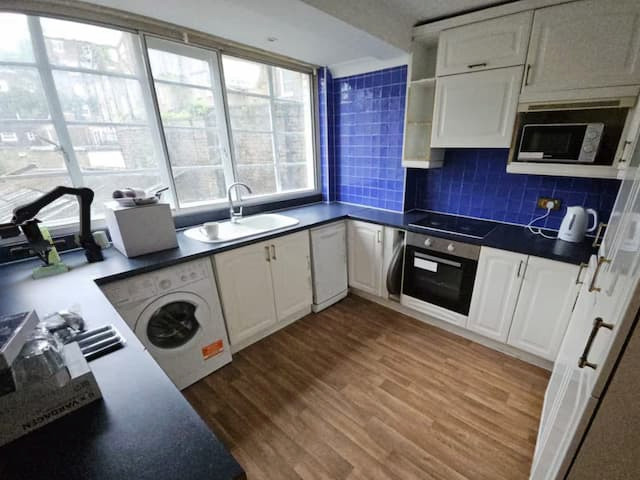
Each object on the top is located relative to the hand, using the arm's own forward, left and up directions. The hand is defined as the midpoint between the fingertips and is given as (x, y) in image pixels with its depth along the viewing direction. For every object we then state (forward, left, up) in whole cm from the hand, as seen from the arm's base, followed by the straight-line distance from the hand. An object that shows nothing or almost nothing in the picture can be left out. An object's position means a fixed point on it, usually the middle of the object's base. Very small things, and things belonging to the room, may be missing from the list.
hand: (47, 264), depth 146 cm
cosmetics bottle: (-17, -34, -5) cm, 38 cm away
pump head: (0, 0, -2) cm, 2 cm away
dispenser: (0, 0, -5) cm, 5 cm away
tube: (+3, -19, -5) cm, 20 cm away
